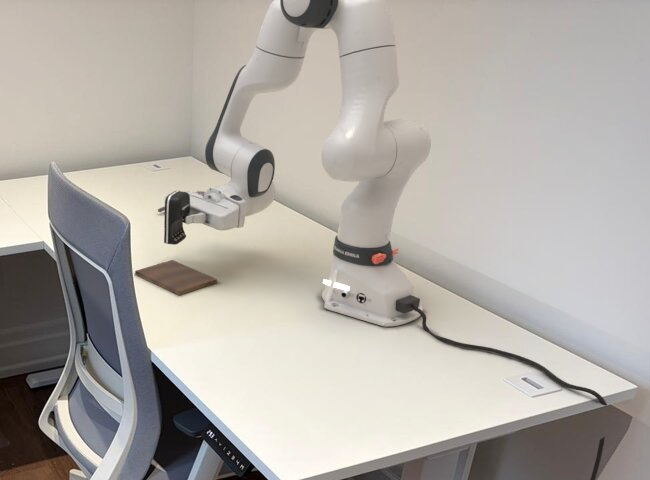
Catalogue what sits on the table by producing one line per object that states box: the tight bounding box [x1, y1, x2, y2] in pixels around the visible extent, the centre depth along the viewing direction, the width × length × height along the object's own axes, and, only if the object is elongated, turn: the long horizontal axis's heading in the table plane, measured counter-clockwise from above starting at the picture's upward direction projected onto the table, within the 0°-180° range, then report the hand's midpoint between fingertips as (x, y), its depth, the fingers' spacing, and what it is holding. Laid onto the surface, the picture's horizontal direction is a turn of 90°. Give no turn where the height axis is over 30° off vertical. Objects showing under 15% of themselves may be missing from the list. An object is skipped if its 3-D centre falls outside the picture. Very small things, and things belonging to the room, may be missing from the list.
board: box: [134, 259, 218, 296], centre depth 203 cm, size 16×12×1 cm
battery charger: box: [163, 190, 190, 246], centre depth 196 cm, size 7×4×11 cm, turn 151°
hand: (175, 216), depth 196 cm, fingers closed on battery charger, 5 cm apart
